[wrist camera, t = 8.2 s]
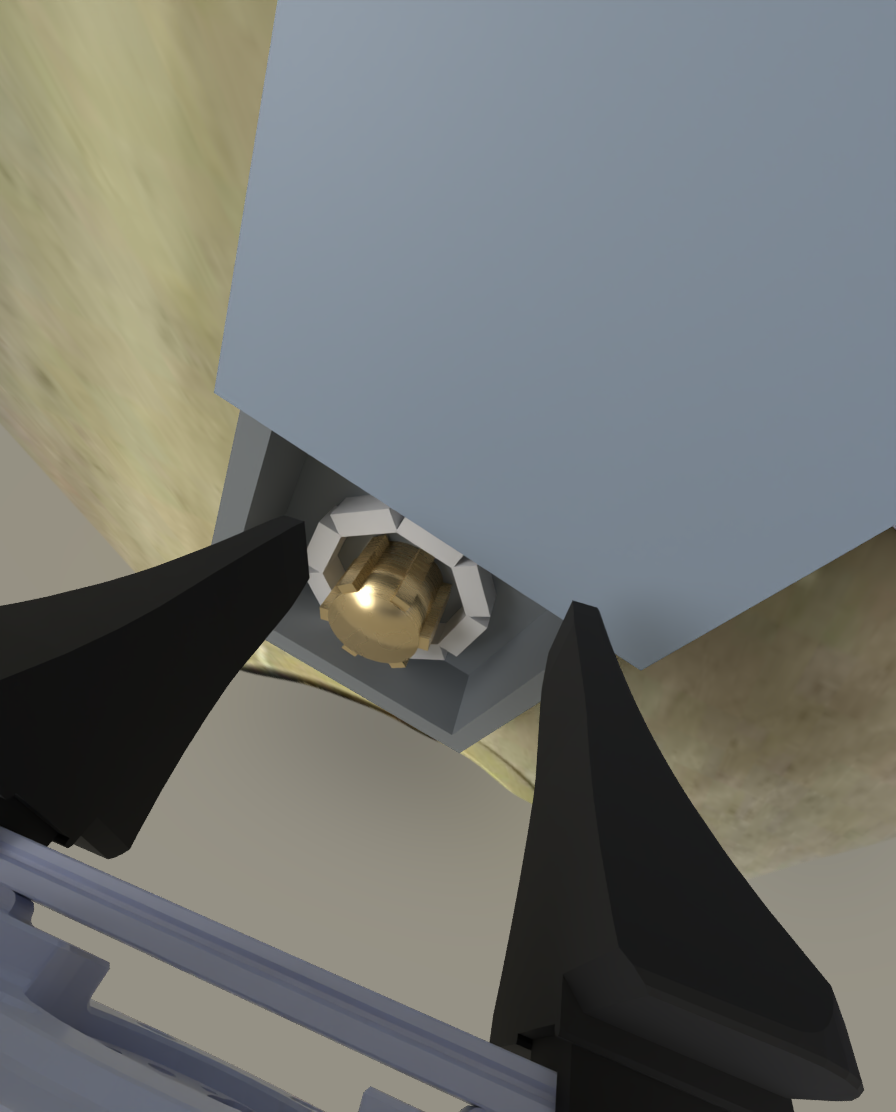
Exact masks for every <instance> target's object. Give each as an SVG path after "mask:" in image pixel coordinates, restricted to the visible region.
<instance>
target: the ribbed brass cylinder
mask: <svg viewBox="0 0 896 1112" xmlns="http://www.w3.org/2000/svg"><path fill="white" fill-rule="evenodd" d="M434 559H435V557H434V556H432V555H431V554H429V553H428V552H426V551H424V550H423V549H421V548H420V549H419V548H417V547H415V546H413V545H411V544H408V543H404V542H399V541H389V539H388V537H387V535H386V534H384V535H380V536H376V537H372V539H371V540H370V542H369V543H368V544H367V546H366V547H365V548H364V550H363V551H362V553H361V554H360V555H359V557H358V558H357V559H356V558H355V559H354V561H353V562H352V563H351V565H350V566H349V568H348V569H347V570H346V572H345V573H344V574H343V576H342V577H341V578H340V580H339V581H338V583H337V584H336V585H335V587H334V588H333V589H332V591H331V592H330V593H329V595H328V596H327V598H326V599H325V600H324V602H323V603H322V604H321V606H320V607H319V608H320V617H321V619H323V620H326V621H329V624H330V627H331V629H332V631H333V632H334V634H335V635H336V636H337V638H338V639H339V640H340V641H341V642H342V643H343V646H342V648H343V649H344V650H346V651H347V652H349V653H350V654H351V655H353V656H354V657H355V656H356V655H357V654H359V655H360V656H363V657H365V658H367V659H370V660H373V661H377V662H382V663H389V665H390V666H391V668H404V667H406V665H407V663H408V661H409V659H410V658H411V657H412V656H413V655H414V654H415V652H416V651H417V648H419V649H423V650H426V651H428V650H429V647H430V645H431V642H432V640H433V637H434V635H435V632H436V630H437V627H438V625H439V622H440V620H441V617H442V615H443V612H444V610H445V607H446V605H447V602H448V600H449V597H450V593H451V586H452V585H451V584H447V583H444V582H443V577H442V574H441V571H440V569H439V567H438V566H437V564H436V563H435V561H434Z"/></svg>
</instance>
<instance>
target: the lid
mask: <svg viewBox="0 0 896 1112" xmlns="http://www.w3.org/2000/svg"><path fill="white" fill-rule="evenodd" d="M214 393H215V394H217V395H218V396H220V397H221V398H223V399H225V400H226V401H228V402H229V403H231V404H232V405H234V406H235V407H237V408H238V409H240V410H241V411H243V412H244V413H246V414H248V415H249V416H251V417H252V418H254V419H255V420H257V421H258V422H260V423H261V424H263V425H264V426H266V427H268V428H269V429H271V430H272V431H274V432H275V433H277V434H278V435H280V436H281V437H283V438H284V439H286V440H287V441H289V442H291V443H292V444H294V445H295V446H297V447H298V448H300V449H301V450H303V451H304V452H306V453H307V454H309V455H311V456H312V457H314V458H315V459H317V460H318V461H320V462H321V463H323V464H324V465H326V466H327V467H329V468H330V469H332V470H334V471H335V472H337V473H338V474H340V475H341V476H343V477H344V478H346V479H347V480H349V481H350V482H352V483H354V484H355V485H357V486H358V487H360V488H361V489H363V490H364V491H366V492H367V493H369V494H370V495H372V496H374V497H375V498H377V499H378V500H380V501H381V502H383V503H384V504H386V505H387V506H389V507H390V508H392V509H393V510H395V511H397V512H398V513H400V514H401V515H403V516H404V517H406V518H407V519H409V520H410V521H412V522H413V523H415V524H417V525H418V526H420V527H421V528H423V529H424V530H426V531H427V532H429V533H430V534H432V535H433V536H435V537H436V538H438V539H440V540H441V541H443V542H444V543H446V544H447V545H449V546H450V547H452V548H453V549H455V550H456V551H458V552H460V553H461V554H463V555H464V556H466V557H467V558H469V559H470V560H472V561H473V562H475V563H476V564H478V565H479V566H481V567H483V568H484V569H486V570H487V571H489V572H490V573H492V574H493V575H495V576H496V577H498V578H499V579H501V580H503V581H504V582H506V583H507V584H509V585H510V586H512V587H513V588H515V589H516V590H518V591H519V592H521V593H522V594H524V595H526V596H527V597H529V598H530V599H532V600H533V601H535V602H536V603H538V604H539V605H541V606H542V607H544V608H546V609H547V610H549V611H550V612H552V613H553V614H555V615H556V616H558V617H559V618H561V619H562V620H564V618H565V615H566V613H567V611H568V609H569V607H570V605H571V602H572V600H573V601H577V602H580V603H584V604H587V605H590V606H594V607H597V608H598V609H599V611H600V614H601V617H602V620H603V623H604V626H605V629H606V631H607V634H608V637H609V640H610V643H611V645H612V648H613V651H614V653H615V654H616V655H618V656H619V657H621V658H622V659H624V660H625V661H627V662H628V663H630V664H632V665H633V666H635V667H636V668H638V669H639V670H643V669H644V668H646V667H648V666H650V665H651V664H653V663H655V662H657V661H658V660H660V659H662V658H664V657H665V656H667V655H669V654H671V653H672V652H674V651H676V650H678V649H679V648H681V647H683V646H684V645H686V644H688V643H690V642H691V641H693V640H695V639H697V638H698V637H700V636H702V635H704V634H705V633H707V632H709V631H711V630H712V629H714V628H716V627H718V626H719V625H721V624H723V623H725V622H726V621H728V620H730V619H732V618H733V617H735V616H737V615H739V614H740V613H742V612H744V611H745V610H747V609H749V608H751V607H752V606H754V605H756V604H758V603H759V602H761V601H763V600H765V599H766V598H768V597H770V596H772V595H773V594H775V593H777V592H779V591H780V590H782V589H784V588H786V587H787V586H789V585H791V584H793V583H794V582H796V581H798V580H800V579H801V578H803V577H805V576H807V575H808V574H810V573H812V572H813V571H815V570H817V569H819V568H820V567H822V566H824V565H826V564H827V563H829V562H831V561H833V560H834V559H836V558H838V557H840V556H841V555H843V554H845V553H847V552H848V551H850V550H852V549H854V548H855V547H857V546H859V545H861V544H862V543H864V542H866V541H868V540H869V539H871V538H873V537H874V536H876V535H878V534H880V533H881V532H883V531H885V530H887V529H888V528H890V527H892V526H894V525H895V524H896V0H278V2H277V8H276V14H275V20H274V26H273V32H272V39H271V45H270V51H269V57H268V63H267V69H266V76H265V82H264V88H263V94H262V100H261V106H260V113H259V119H258V125H257V131H256V137H255V143H254V150H253V156H252V162H251V168H250V174H249V181H248V187H247V193H246V199H245V205H244V211H243V218H242V224H241V230H240V236H239V242H238V248H237V255H236V261H235V267H234V273H233V279H232V285H231V292H230V298H229V304H228V310H227V316H226V322H225V329H224V335H223V341H222V347H221V353H220V359H219V366H218V372H217V378H216V384H215V390H214Z"/></svg>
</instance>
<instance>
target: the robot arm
mask: <svg viewBox="0 0 896 1112" xmlns="http://www.w3.org/2000/svg"><path fill="white" fill-rule="evenodd" d="M892 527H893V528H895V529H896V524H895V525H894V526H892ZM309 578H310V576H309V565H308V554H307V543H306V532H305V521H302V520H299V519H295V518H292V517H289V516H285V515H283V516H280V517H278V518H275V519H272V520H270V521H267V522H265V523H263V524H260V525H258V526H255V527H253V528H251V529H248V530H246V531H244V532H241V533H239V534H237V535H234V536H232V537H230V538H227V539H225V540H223V541H220V542H218V543H215V544H213V545H211V546H208V547H206V548H203V549H201V550H198V551H196V552H193V553H190V554H188V555H185V556H182V557H180V558H177V559H174V560H172V561H169V562H167V563H164V564H161V565H158V566H156V567H153V568H150V569H147V570H144V571H141V572H138V573H135V574H131V575H128V576H124V577H121V578H118V579H115V580H111V581H108V582H104V583H101V584H97V585H93V586H88V587H84V588H81V589H76V590H72V591H68V592H64V593H60V594H56V595H52V596H48V597H43V598H39V599H34V600H29V601H24V602H19V603H14V604H9V605H3V606H0V1112H325V1111H323V1110H321V1109H319V1108H317V1107H315V1106H313V1105H311V1104H309V1103H307V1102H305V1101H304V1100H302V1099H299V1098H298V1097H296V1096H294V1095H292V1094H290V1093H288V1092H286V1091H284V1090H282V1089H280V1088H278V1087H276V1086H274V1085H272V1084H271V1083H269V1082H266V1081H264V1080H262V1079H261V1078H258V1077H257V1076H254V1075H252V1074H251V1073H249V1072H246V1071H244V1070H242V1069H240V1068H238V1067H236V1066H234V1065H232V1064H230V1063H228V1062H226V1061H224V1060H222V1059H220V1058H217V1057H215V1056H213V1055H211V1054H209V1053H207V1052H205V1051H203V1050H201V1049H198V1048H196V1047H194V1046H192V1045H190V1044H188V1043H186V1042H184V1041H181V1040H179V1039H177V1038H175V1037H173V1036H170V1035H168V1034H166V1033H164V1032H162V1031H160V1030H158V1029H155V1028H153V1027H151V1026H149V1025H147V1024H145V1023H142V1022H140V1021H138V1020H136V1019H134V1018H132V1017H129V1016H127V1015H125V1014H123V1013H121V1012H119V1011H116V1010H114V1009H112V1008H110V1007H108V1006H105V1005H103V1004H101V1003H99V1002H97V1001H95V1000H93V999H91V997H92V995H93V993H94V992H95V990H96V988H97V987H98V985H99V984H100V983H101V981H102V979H103V978H104V977H105V975H106V973H107V972H108V970H109V969H110V965H109V964H110V963H109V962H107V961H105V960H103V959H101V958H99V957H97V956H95V955H93V954H91V953H89V952H87V951H85V950H83V949H80V948H78V947H76V946H74V945H72V944H70V943H68V942H65V941H63V940H61V939H59V938H57V937H55V936H53V935H51V934H48V933H46V932H44V931H42V930H40V929H38V928H35V927H34V926H33V925H32V923H31V917H32V914H33V912H34V903H33V902H32V901H34V902H36V903H38V904H40V905H42V906H44V907H47V908H49V909H51V910H53V911H56V912H57V913H59V914H62V915H64V916H66V917H68V918H70V919H72V920H75V921H77V922H79V923H81V924H83V925H85V926H88V927H90V928H92V929H94V930H96V931H98V932H100V933H103V934H105V935H107V936H109V937H111V938H113V939H115V940H118V941H120V942H122V943H124V944H126V945H128V946H130V947H133V948H135V949H137V950H139V951H141V952H144V953H146V954H148V955H150V956H152V957H154V958H156V959H158V960H161V961H163V962H165V963H167V964H169V965H171V966H174V967H176V968H178V969H180V970H182V971H184V972H187V973H189V974H191V975H193V976H195V977H197V978H199V979H202V980H204V981H206V982H208V983H210V984H212V985H214V986H217V987H219V988H221V989H223V990H225V991H227V992H229V993H232V994H234V995H236V996H238V997H240V998H242V999H245V1000H247V1001H249V1002H251V1003H253V1004H255V1005H258V1006H260V1007H262V1008H264V1009H266V1010H268V1011H270V1012H273V1013H275V1014H277V1015H279V1016H281V1017H283V1018H286V1019H288V1020H290V1021H292V1022H294V1023H296V1024H298V1025H300V1026H303V1027H305V1028H307V1029H309V1030H311V1031H313V1032H315V1033H318V1034H320V1035H322V1036H324V1037H326V1038H328V1039H331V1040H333V1041H335V1042H337V1043H339V1044H341V1045H343V1046H346V1047H348V1048H350V1049H352V1050H354V1051H356V1052H359V1053H361V1054H363V1055H365V1056H367V1057H369V1058H371V1059H374V1060H376V1061H378V1062H380V1063H382V1064H384V1065H387V1066H389V1067H391V1068H393V1069H395V1070H397V1071H399V1072H402V1073H404V1074H406V1075H408V1076H410V1077H412V1078H414V1079H417V1080H419V1081H421V1082H423V1083H426V1084H427V1085H430V1086H432V1087H434V1088H436V1089H438V1090H440V1091H443V1092H445V1093H447V1094H449V1095H451V1096H453V1097H455V1098H457V1099H460V1100H462V1101H464V1102H466V1103H468V1104H470V1105H473V1106H466V1107H464V1108H463V1109H461V1110H460V1112H794V1110H793V1105H792V1100H791V1099H806V1100H824V1101H852V1100H854V1099H856V1098H858V1097H859V1096H860V1095H861V1094H862V1092H863V1091H864V1088H863V1084H862V1080H861V1077H860V1073H859V1070H858V1067H857V1063H856V1060H855V1056H854V1053H853V1050H852V1046H851V1043H850V1039H849V1036H848V1033H847V1029H846V1026H845V1023H844V1020H843V1018H842V1015H841V1012H840V1010H839V1006H838V1003H837V1001H836V998H835V995H834V992H833V990H832V987H831V985H830V984H829V983H828V982H827V980H826V979H825V978H824V977H823V976H822V974H821V973H820V972H819V971H818V969H817V968H816V967H815V966H814V965H813V963H812V962H811V961H810V960H809V958H808V957H807V956H806V955H805V954H804V952H803V951H802V950H801V949H800V948H799V946H798V945H797V944H796V943H795V941H794V940H793V939H792V938H791V937H790V935H789V934H788V933H787V932H786V930H785V929H784V928H783V927H782V925H781V924H780V923H779V922H778V921H777V919H776V918H775V917H774V916H773V915H772V914H771V912H770V911H769V910H768V908H767V907H766V906H765V904H764V903H763V902H762V901H761V899H760V898H759V897H758V895H757V894H756V893H755V892H754V890H753V889H752V887H751V886H750V885H749V883H748V882H747V881H746V879H745V878H744V877H743V875H742V874H741V873H740V871H739V870H738V869H737V867H736V866H735V865H734V863H733V862H732V861H731V859H730V858H729V857H728V855H727V854H726V852H725V851H724V850H723V848H722V847H721V845H720V844H719V842H718V841H717V839H716V838H715V836H714V835H713V834H712V832H711V831H710V829H709V828H708V826H707V825H706V823H705V822H704V820H703V819H702V817H701V816H700V815H699V813H698V812H697V810H696V809H695V807H694V806H693V804H692V803H691V801H690V800H689V798H688V797H687V795H686V793H685V792H684V790H683V789H682V787H681V785H680V784H679V782H678V780H677V779H676V777H675V776H674V774H673V772H672V770H671V769H670V767H669V765H668V764H667V762H666V760H665V758H664V757H663V755H662V753H661V751H660V750H659V748H658V746H657V744H656V742H655V740H654V739H653V737H652V735H651V733H650V731H649V729H648V727H647V725H646V723H645V721H644V719H643V717H642V715H641V713H640V711H639V709H638V707H637V705H636V703H635V700H634V698H633V696H632V694H631V692H630V689H629V687H628V685H627V682H626V680H625V678H624V675H623V673H622V671H621V668H620V666H619V663H618V661H617V658H616V656H615V653H614V651H613V648H612V645H611V643H610V640H609V637H608V634H607V631H606V629H605V626H604V623H603V620H602V617H601V614H600V611H599V609H598V608H597V607H594V606H590V605H587V604H584V603H580V602H577V601H573V600H572V602H571V605H570V607H569V609H568V611H567V613H566V615H565V618H564V620H563V622H562V624H561V626H560V628H559V631H558V633H557V635H556V637H555V639H554V642H553V644H552V646H551V648H550V650H549V652H548V657H547V662H546V668H545V673H544V678H543V684H542V690H541V704H540V719H539V735H538V751H537V766H536V780H535V789H534V798H533V804H532V810H531V816H530V823H529V829H528V835H527V841H526V847H525V853H524V859H523V865H522V870H521V876H520V882H519V887H518V892H517V898H516V903H515V909H514V914H513V919H512V925H511V930H510V935H509V940H508V945H507V951H506V956H505V961H504V966H503V971H502V976H501V981H500V986H499V990H498V995H497V1000H496V1005H495V1010H494V1014H493V1022H492V1028H491V1036H490V1043H489V1042H487V1041H485V1040H483V1039H480V1038H478V1037H476V1036H473V1035H471V1034H469V1033H467V1032H464V1031H462V1030H460V1029H458V1028H455V1027H453V1026H451V1025H449V1024H446V1023H444V1022H442V1021H439V1020H437V1019H435V1018H433V1017H431V1016H428V1015H426V1014H424V1013H421V1012H419V1011H417V1010H415V1009H412V1008H410V1007H408V1006H406V1005H403V1004H401V1003H399V1002H396V1001H394V1000H392V999H390V998H388V997H385V996H383V995H381V994H379V993H376V992H374V991H372V990H369V989H367V988H365V987H362V986H360V985H358V984H356V983H354V982H351V981H349V980H347V979H344V978H342V977H340V976H338V975H336V974H333V973H331V972H329V971H326V970H324V969H322V968H320V967H317V966H315V965H313V964H310V963H308V962H306V961H304V960H302V959H299V958H297V957H295V956H292V955H290V954H288V953H286V952H283V951H281V950H279V949H277V948H275V947H272V946H270V945H268V944H266V943H263V942H261V941H259V940H256V939H254V938H252V937H250V936H247V935H245V934H243V933H241V932H238V931H236V930H234V929H232V928H229V927H227V926H225V925H223V924H220V923H218V922H216V921H213V920H211V919H209V918H207V917H205V916H202V915H200V914H198V913H195V912H193V911H191V910H189V909H186V908H184V907H182V906H180V905H177V904H175V903H173V902H171V901H168V900H166V899H164V898H162V897H159V896H157V895H155V894H153V893H150V892H148V891H146V890H144V889H141V888H139V887H137V886H134V885H132V884H130V883H128V882H125V881H123V880H121V879H118V878H116V877H114V876H111V875H110V874H107V873H105V872H103V871H100V870H98V869H96V868H94V867H91V866H89V865H87V864H84V863H82V862H80V861H78V860H76V859H73V858H71V857H69V856H67V855H64V854H62V853H60V852H58V851H55V850H53V849H51V848H48V847H47V846H48V845H49V844H50V843H51V842H52V841H53V842H55V843H57V844H60V845H62V846H64V847H66V848H69V847H71V846H72V845H73V844H75V845H76V846H79V847H81V848H84V849H86V850H88V851H90V852H93V853H95V854H97V855H99V856H102V857H104V858H106V859H111V858H114V857H117V856H119V855H121V854H123V853H125V852H126V851H128V850H129V849H130V848H131V846H132V844H133V842H134V840H135V838H136V836H137V834H138V832H139V831H140V829H141V827H142V825H143V823H144V822H145V820H146V818H147V816H148V814H149V812H150V811H151V809H152V807H153V805H154V803H155V801H156V800H157V798H158V796H159V794H160V792H161V791H162V789H163V787H164V785H165V784H166V782H167V781H168V779H169V777H170V775H171V774H172V772H173V770H174V768H175V767H176V765H177V764H178V762H179V760H180V759H181V757H182V755H183V753H184V752H185V750H186V748H187V747H188V745H189V743H190V742H191V741H192V739H193V738H194V736H195V734H196V733H197V731H198V730H199V728H200V727H201V725H202V723H203V722H204V720H205V719H206V717H207V716H208V714H209V713H210V711H211V710H212V708H213V707H214V705H215V704H216V702H217V701H218V699H219V698H220V696H221V695H222V693H223V692H224V690H225V689H226V687H227V686H228V685H229V683H230V682H231V681H232V679H233V678H234V677H235V676H236V674H237V673H238V672H239V670H240V669H241V668H242V667H243V666H244V664H245V663H246V662H247V661H248V660H249V658H250V657H251V656H252V655H253V654H254V652H255V651H256V650H257V649H258V648H259V646H260V645H261V644H262V643H263V642H264V640H265V639H266V638H267V637H268V636H269V634H270V633H271V632H272V631H273V630H274V628H275V627H276V626H277V625H278V624H279V622H280V621H281V620H282V619H283V617H284V616H285V615H286V614H287V612H288V611H289V610H290V609H291V607H292V606H293V604H294V603H295V601H296V600H297V598H298V596H299V595H300V593H301V592H302V590H303V588H304V587H305V585H306V583H307V582H308V580H309ZM31 900H32V901H31ZM358 1112H424V1111H422V1110H420V1109H418V1108H416V1107H413V1106H411V1105H409V1104H407V1103H405V1102H403V1101H401V1100H398V1099H397V1098H394V1097H392V1096H390V1095H388V1094H386V1093H384V1092H382V1091H379V1090H377V1089H375V1088H373V1087H369V1088H368V1089H367V1090H365V1092H364V1093H363V1096H362V1100H361V1104H360V1108H359V1111H358Z"/></svg>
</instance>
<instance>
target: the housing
mask: <svg viewBox="0 0 896 1112" xmlns="http://www.w3.org/2000/svg"><path fill="white" fill-rule="evenodd" d="M283 515H285V516H289V517H292V518H295V519H299V520H302V521H305V532H306V543H307V554H308V565H309V576H310V578H309V580H308V582H307V583H306V585H305V587H304V588H303V590H302V592H301V593H300V595H299V596H298V598H297V600H296V601H295V603H294V604H293V606H292V607H291V609H290V610H289V611H288V612H287V614H286V615H285V616H284V617H283V619H282V620H281V621H280V622H279V624H278V625H277V626H276V627H275V628H274V630H273V631H272V632H271V633H270V634H269V636H268V637H267V638H266V639H265V640H266V641H268V642H270V643H272V644H273V645H275V646H277V647H278V648H280V649H282V650H284V651H285V652H287V653H289V654H290V655H292V656H294V657H296V658H297V659H299V660H301V661H302V662H304V663H306V664H308V665H309V666H311V667H313V668H314V669H316V670H318V671H319V672H321V673H323V674H325V675H326V676H328V677H330V678H331V679H333V680H335V681H337V682H338V683H340V684H342V685H343V686H345V687H347V688H349V689H350V690H352V691H354V692H355V693H357V694H359V695H361V696H362V697H364V698H366V699H367V700H369V701H371V702H373V703H374V704H376V705H378V706H379V707H381V708H383V709H384V710H386V711H388V712H390V713H391V714H393V715H395V716H396V717H398V718H400V719H402V720H403V721H405V722H407V723H408V724H410V725H412V726H414V727H415V728H417V729H419V730H420V731H422V732H424V733H426V734H427V735H429V736H431V737H432V738H434V739H436V740H438V741H439V742H441V743H443V744H444V745H446V746H448V747H450V748H451V749H453V750H455V751H456V752H458V753H460V752H462V751H464V750H465V749H467V748H468V747H470V746H471V745H473V744H475V743H476V742H478V741H479V740H481V739H482V738H484V737H486V736H487V735H489V734H490V733H492V732H493V731H495V730H497V729H498V728H500V727H501V726H503V725H504V724H506V723H508V722H509V721H511V720H512V719H514V718H515V717H517V716H518V715H520V714H522V713H523V712H525V711H526V710H528V709H529V708H531V707H533V706H534V705H536V704H537V703H539V702H540V701H541V690H542V684H543V678H544V673H545V668H546V662H547V657H548V652H549V650H550V648H551V646H552V644H553V642H554V639H555V637H556V635H557V633H558V631H559V628H560V626H561V624H562V622H563V620H562V619H561V618H559V617H558V616H556V615H555V614H553V613H552V612H550V611H549V610H547V609H546V608H544V607H542V606H541V605H539V604H538V603H536V602H535V601H533V600H532V599H530V598H529V597H527V596H526V595H524V594H522V593H521V592H519V591H518V590H516V589H515V588H513V587H512V586H510V585H509V584H507V583H506V582H504V581H503V580H501V579H499V578H498V577H496V576H495V575H493V574H492V573H490V572H489V571H487V570H486V569H484V568H483V567H481V566H479V565H478V564H476V563H475V562H473V561H472V560H470V559H469V558H467V557H466V556H464V555H463V554H461V553H460V552H458V551H456V550H455V549H453V548H452V547H450V546H449V545H447V544H446V543H444V542H443V541H441V540H440V539H438V538H436V537H435V536H433V535H432V534H430V533H429V532H427V531H426V530H424V529H423V528H421V527H420V526H418V525H417V524H415V523H413V522H412V521H410V520H409V519H407V518H406V517H404V516H403V515H401V514H400V513H398V512H397V511H395V510H393V509H392V508H390V507H389V506H387V505H386V504H384V503H383V502H381V501H380V500H378V499H377V498H375V497H374V496H372V495H370V494H369V493H367V492H366V491H364V490H363V489H361V488H360V487H358V486H357V485H355V484H354V483H352V482H350V481H349V480H347V479H346V478H344V477H343V476H341V475H340V474H338V473H337V472H335V471H334V470H332V469H330V468H329V467H327V466H326V465H324V464H323V463H321V462H320V461H318V460H317V459H315V458H314V457H312V456H311V455H309V454H307V453H306V452H304V451H303V450H301V449H300V448H298V447H297V446H295V445H294V444H292V443H291V442H289V441H287V440H286V439H284V438H283V437H281V436H280V435H278V434H277V433H275V432H274V431H272V430H271V429H269V428H268V427H266V426H264V425H263V424H261V423H260V422H258V421H257V420H255V419H254V418H252V417H251V416H249V415H248V414H246V413H244V412H243V411H241V410H240V413H239V418H238V423H237V427H236V432H235V437H234V441H233V446H232V451H231V455H230V460H229V465H228V469H227V474H226V479H225V483H224V488H223V493H222V497H221V502H220V507H219V511H218V516H217V521H216V525H215V530H214V535H213V539H212V544H211V545H213V544H215V543H218V542H220V541H223V540H225V539H227V538H230V537H232V536H234V535H237V534H239V533H241V532H244V531H246V530H248V529H251V528H253V527H255V526H258V525H260V524H263V523H265V522H267V521H270V520H272V519H275V518H278V517H280V516H283ZM384 534H386V535H387V537H388V539H389V541H399V542H404V543H408V544H411V545H413V546H415V547H417V548H419V549H420V548H421V549H423V550H424V551H426V552H428V553H429V554H431V555H432V556H434V557H435V559H434V561H435V563H436V564H437V566H438V567H439V569H440V571H441V574H442V577H443V582H444V583H447V584H451V585H452V586H451V593H450V597H449V600H448V602H447V605H446V607H445V610H444V612H443V615H442V617H441V620H440V622H439V625H438V627H437V630H436V632H435V635H434V637H433V640H432V642H431V645H430V647H429V650H428V651H426V650H423V649H419V648H417V651H416V652H415V654H414V655H413V656H412V657H411V658H410V659H409V661H408V663H407V665H406V667H404V668H391V666H390V665H389V663H382V662H377V661H373V660H370V659H367V658H365V657H363V656H360V655H359V654H357V655H356V656H355V657H354V656H353V655H351V654H350V653H349V652H347V651H346V650H344V649H343V648H342V646H343V643H342V642H341V641H340V640H339V639H338V638H337V636H336V635H335V634H334V632H333V631H332V629H331V627H330V624H329V621H326V620H323V619H321V617H320V608H319V607H320V606H321V604H322V603H323V602H324V600H325V599H326V598H327V596H328V595H329V593H330V592H331V591H332V589H333V588H334V587H335V585H336V584H337V583H338V581H339V580H340V578H341V577H342V576H343V574H344V573H345V572H346V570H347V569H348V568H349V566H350V565H351V563H352V562H353V561H354V559H355V558H356V559H357V558H358V557H359V555H360V554H361V553H362V551H363V550H364V548H365V547H366V546H367V544H368V543H369V542H370V540H371V539H372V537H376V536H380V535H384Z"/></svg>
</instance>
